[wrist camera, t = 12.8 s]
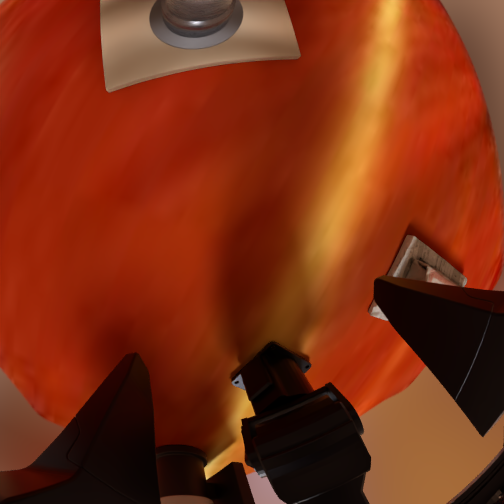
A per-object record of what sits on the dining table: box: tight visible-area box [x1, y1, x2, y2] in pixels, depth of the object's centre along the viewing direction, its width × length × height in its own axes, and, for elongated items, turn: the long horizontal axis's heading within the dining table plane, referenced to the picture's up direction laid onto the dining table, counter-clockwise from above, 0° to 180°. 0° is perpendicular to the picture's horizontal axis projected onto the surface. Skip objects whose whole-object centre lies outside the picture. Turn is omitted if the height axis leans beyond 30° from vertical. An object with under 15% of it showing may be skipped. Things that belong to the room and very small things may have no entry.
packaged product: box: [368, 235, 467, 320], centre depth 28 cm, size 18×5×10 cm
